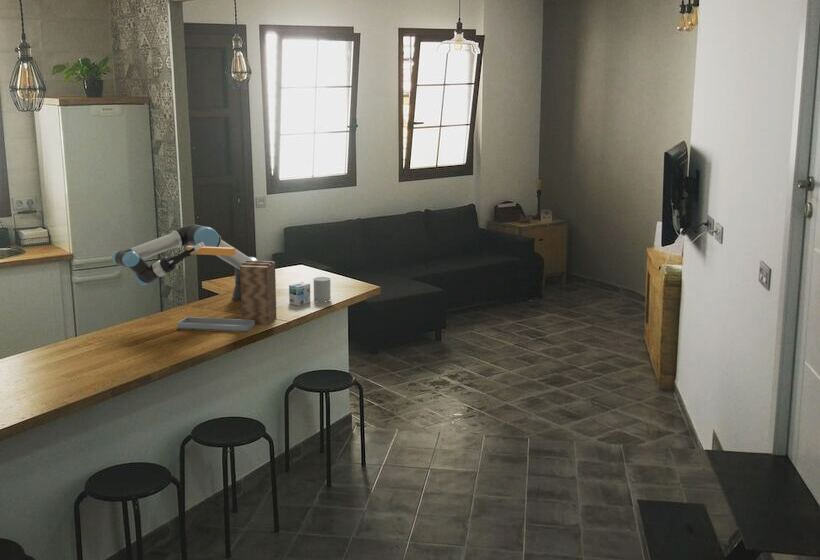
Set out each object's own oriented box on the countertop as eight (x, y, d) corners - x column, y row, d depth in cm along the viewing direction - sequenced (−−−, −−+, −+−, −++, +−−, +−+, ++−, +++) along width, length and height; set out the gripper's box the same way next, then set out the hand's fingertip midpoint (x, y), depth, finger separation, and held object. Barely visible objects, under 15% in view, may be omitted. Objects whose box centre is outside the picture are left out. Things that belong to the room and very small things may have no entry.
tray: (177, 328, 434) (177, 323, 433) (186, 322, 445) (186, 316, 445) (247, 332, 429) (247, 326, 428) (255, 325, 441) (254, 320, 440)
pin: (186, 253, 431) (185, 246, 430) (189, 252, 434) (188, 245, 434) (232, 255, 427) (232, 248, 427) (235, 254, 431) (235, 247, 430)
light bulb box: (297, 305, 481) (297, 286, 478) (288, 304, 484) (288, 285, 482) (311, 302, 489) (310, 283, 486) (302, 300, 493) (301, 281, 490)
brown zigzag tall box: (241, 324, 444) (239, 264, 437) (250, 316, 457) (248, 258, 450) (268, 325, 442) (266, 265, 435) (276, 318, 455) (274, 259, 448)
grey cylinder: (311, 298, 496) (311, 277, 493) (328, 297, 499) (327, 276, 497) (316, 302, 487) (315, 281, 485) (332, 301, 491) (332, 280, 488)
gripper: (174, 269, 444) (211, 248, 439) (160, 276, 428) (199, 254, 423) (167, 256, 443) (204, 235, 438) (152, 263, 427) (191, 241, 422)
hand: (201, 244), depth 431 cm, fingers closed on pin, 3 cm apart
